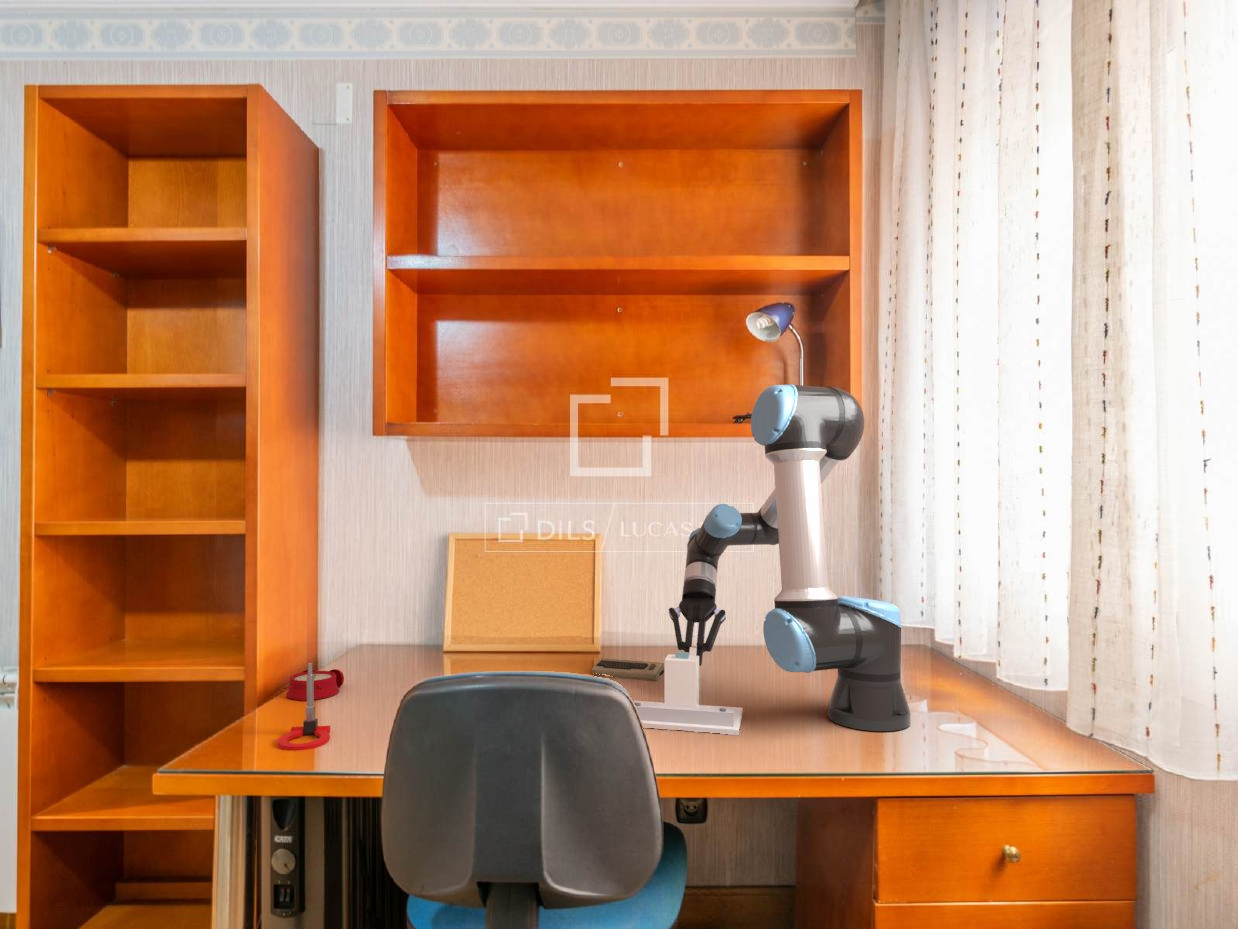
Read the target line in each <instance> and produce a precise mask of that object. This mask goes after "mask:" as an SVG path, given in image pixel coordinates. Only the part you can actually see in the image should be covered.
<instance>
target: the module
mask: <svg viewBox="0 0 1238 929" xmlns="http://www.w3.org/2000/svg"><path fill="white" fill-rule="evenodd" d="M663 693H664V700H663V701H664V702H663V703H664V705H666V706H682V707H697V708H699V705H700V666H699V656H693V655H689V652H684V651H676V652H675V654H674V653H673V654H671V653H668V654H667V656H666V657H665V659H664V692H663Z"/></svg>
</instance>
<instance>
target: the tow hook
mask: <svg viewBox="0 0 1238 929" xmlns="http://www.w3.org/2000/svg"><path fill="white" fill-rule="evenodd" d="M312 669H313V663H312V662H308V663H307V670H308V675H307V700H306V706H305V719H304V720H303V725H302V726H291V727H290V732H288V733H285V734H283V735H281V736H280V737H279V738H278V739H277V747H278V748H279V749H281V750H284V751H305V750H312V749H316V748H319V747H321V746H324V745H326V744H327V743H328V742H329V741H330V738H331V734H330V733H331V725H319V724H318V723H319V721H318V720H319V719H318V718H316V705H315V700H314V675H313V674H312ZM303 735H304V736H313V735H314V736H315V737H318V738H316V739H315V740H313V741H312V740H311V741H309V742H304V743H303V742H302V743H301V742H300V743H293V742H289V741H291V740H293V739H296V738H299V737H300V738H301V737H302V736H303Z"/></svg>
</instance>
